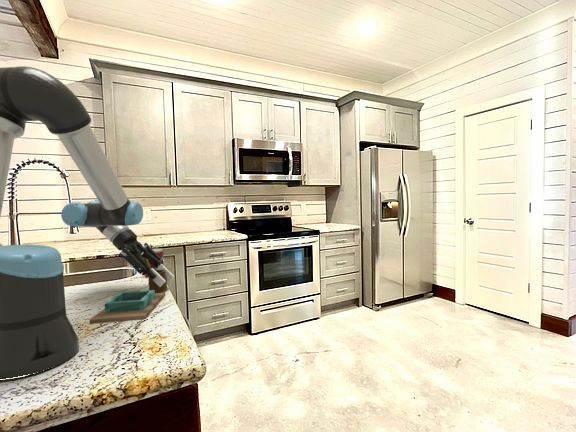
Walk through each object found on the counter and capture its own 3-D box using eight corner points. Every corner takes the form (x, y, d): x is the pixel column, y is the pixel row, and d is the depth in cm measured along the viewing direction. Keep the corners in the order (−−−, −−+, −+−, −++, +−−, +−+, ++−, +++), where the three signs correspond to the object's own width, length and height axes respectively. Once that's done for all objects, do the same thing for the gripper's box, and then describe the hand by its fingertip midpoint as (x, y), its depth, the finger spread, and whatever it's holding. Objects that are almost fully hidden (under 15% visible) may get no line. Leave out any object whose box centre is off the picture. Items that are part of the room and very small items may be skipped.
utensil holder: (170, 290, 108) (168, 256, 107) (151, 295, 104) (149, 260, 103) (163, 287, 112) (161, 254, 112) (145, 291, 108) (143, 257, 107)
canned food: (147, 279, 125) (145, 252, 125) (142, 275, 132) (141, 250, 131) (166, 275, 130) (165, 250, 129) (161, 272, 136) (160, 247, 136)
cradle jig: (145, 318, 83) (144, 306, 83) (89, 323, 81) (88, 310, 81) (165, 295, 103) (164, 285, 102) (120, 298, 101) (120, 288, 101)
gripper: (131, 239, 118) (173, 281, 117) (95, 247, 100) (145, 297, 99) (142, 225, 117) (186, 268, 116) (108, 231, 99) (159, 281, 98)
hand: (167, 281), depth 107 cm, fingers closed on utensil holder, 5 cm apart
